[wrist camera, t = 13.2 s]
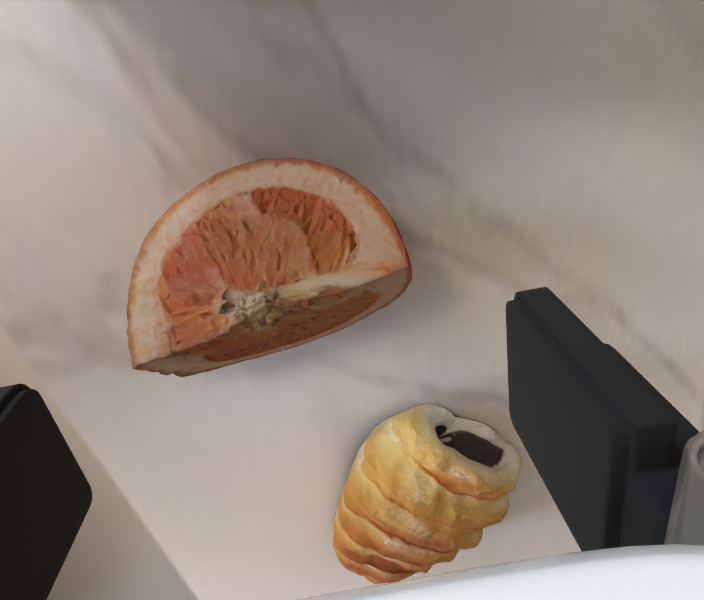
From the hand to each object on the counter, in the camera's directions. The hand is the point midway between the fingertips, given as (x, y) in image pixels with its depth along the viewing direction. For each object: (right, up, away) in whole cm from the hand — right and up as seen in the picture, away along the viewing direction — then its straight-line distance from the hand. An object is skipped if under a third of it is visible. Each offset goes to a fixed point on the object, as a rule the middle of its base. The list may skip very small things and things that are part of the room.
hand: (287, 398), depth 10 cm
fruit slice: (-2, +4, +8) cm, 9 cm away
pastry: (+4, -6, +14) cm, 15 cm away
